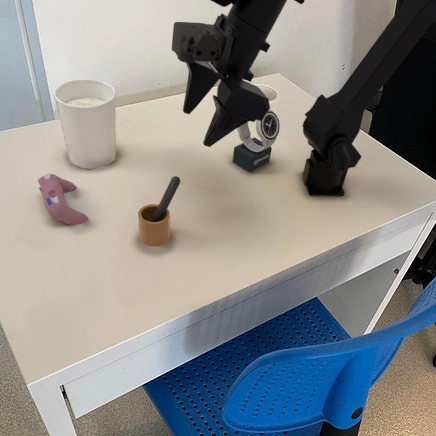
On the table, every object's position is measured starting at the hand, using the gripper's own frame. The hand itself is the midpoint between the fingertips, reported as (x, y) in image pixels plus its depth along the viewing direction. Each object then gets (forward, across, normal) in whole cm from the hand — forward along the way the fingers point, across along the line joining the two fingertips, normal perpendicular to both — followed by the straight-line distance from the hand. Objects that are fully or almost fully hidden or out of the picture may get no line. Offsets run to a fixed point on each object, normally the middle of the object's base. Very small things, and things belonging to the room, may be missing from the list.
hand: (195, 128), depth 71 cm
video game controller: (+22, -4, -12) cm, 25 cm away
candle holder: (+18, -18, -5) cm, 27 cm away
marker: (+15, +6, -1) cm, 17 cm away
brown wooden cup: (+16, +7, -1) cm, 18 cm away
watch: (+7, -10, +20) cm, 23 cm away
